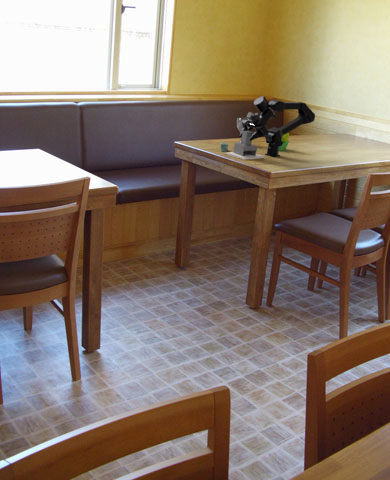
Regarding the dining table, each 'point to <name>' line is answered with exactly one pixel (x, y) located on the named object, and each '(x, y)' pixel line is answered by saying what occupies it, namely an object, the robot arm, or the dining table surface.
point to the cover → (245, 145)
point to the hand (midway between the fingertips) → (244, 138)
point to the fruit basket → (284, 142)
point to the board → (244, 156)
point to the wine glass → (240, 125)
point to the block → (224, 147)
